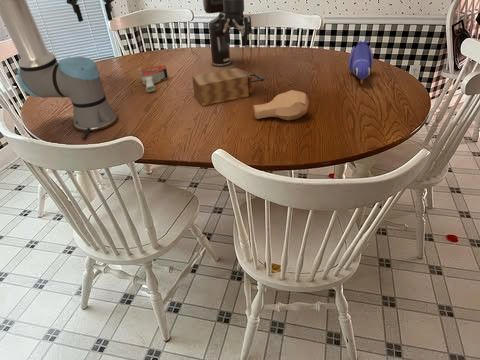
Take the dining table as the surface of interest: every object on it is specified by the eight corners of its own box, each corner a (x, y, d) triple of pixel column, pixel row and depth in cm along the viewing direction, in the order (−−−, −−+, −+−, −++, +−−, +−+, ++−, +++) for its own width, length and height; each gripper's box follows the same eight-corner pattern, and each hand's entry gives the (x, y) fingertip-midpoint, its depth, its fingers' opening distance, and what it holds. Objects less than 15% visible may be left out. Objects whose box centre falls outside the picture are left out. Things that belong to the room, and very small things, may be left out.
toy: (346, 78, 167) (350, 87, 144) (349, 39, 160) (352, 43, 138) (368, 77, 164) (375, 86, 142) (372, 38, 158) (379, 42, 135)
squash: (312, 121, 125) (311, 99, 119) (256, 131, 127) (252, 110, 121) (306, 103, 133) (305, 82, 126) (254, 113, 134) (250, 93, 128)
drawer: (255, 82, 155) (255, 67, 151) (265, 89, 148) (264, 74, 144) (202, 92, 149) (200, 77, 145) (209, 101, 141) (207, 85, 137)
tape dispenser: (151, 97, 154) (180, 78, 166) (148, 85, 150) (178, 68, 163) (122, 88, 161) (152, 71, 174) (119, 77, 158) (150, 61, 170)
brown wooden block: (238, 87, 154) (237, 67, 149) (248, 96, 146) (248, 75, 141) (194, 96, 149) (191, 76, 144) (202, 105, 140) (199, 85, 135)
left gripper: (113, -39, 144) (126, 17, 157) (56, -36, 147) (73, 19, 160) (106, -37, 138) (119, 21, 151) (46, -34, 141) (64, 23, 154)
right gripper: (255, -3, 125) (256, 44, 135) (225, -6, 133) (228, 39, 143) (241, 0, 121) (243, 49, 131) (211, -3, 129) (215, 43, 138)
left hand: (95, 20), depth 155 cm, fingers open, 13 cm apart
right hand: (235, 44), depth 137 cm, fingers open, 8 cm apart
